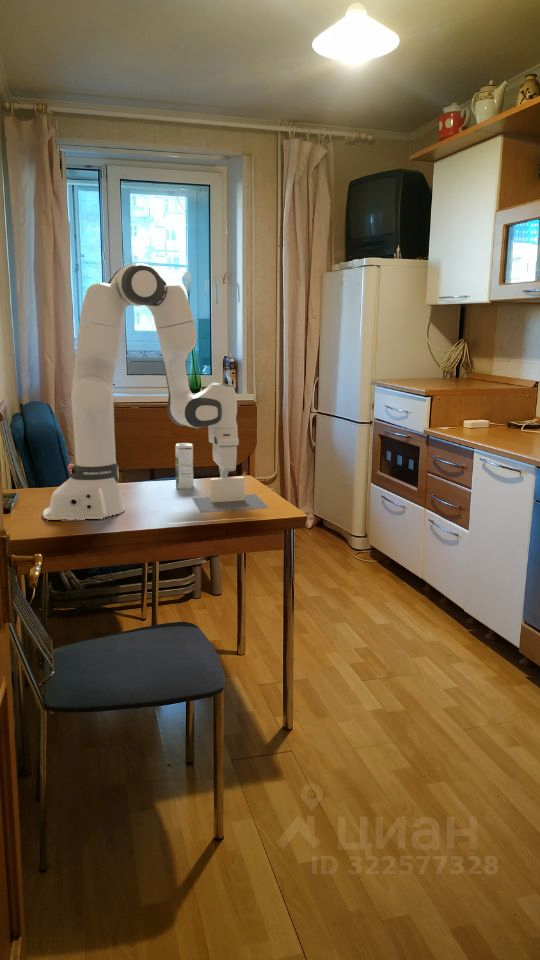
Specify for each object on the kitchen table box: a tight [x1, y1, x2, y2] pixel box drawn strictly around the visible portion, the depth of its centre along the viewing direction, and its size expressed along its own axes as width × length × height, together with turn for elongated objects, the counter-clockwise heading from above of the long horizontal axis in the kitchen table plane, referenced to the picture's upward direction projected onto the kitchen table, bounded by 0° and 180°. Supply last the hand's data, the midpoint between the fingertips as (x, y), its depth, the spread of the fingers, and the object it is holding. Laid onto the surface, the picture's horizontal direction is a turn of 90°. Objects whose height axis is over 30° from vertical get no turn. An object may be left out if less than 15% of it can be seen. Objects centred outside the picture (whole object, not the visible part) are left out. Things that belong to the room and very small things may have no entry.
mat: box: [192, 493, 270, 514], centre depth 205 cm, size 20×18×1 cm
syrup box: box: [174, 442, 194, 490], centre depth 227 cm, size 6×6×14 cm
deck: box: [209, 476, 245, 502], centre depth 207 cm, size 10×2×7 cm, turn 104°
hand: (224, 480), depth 212 cm, fingers closed
